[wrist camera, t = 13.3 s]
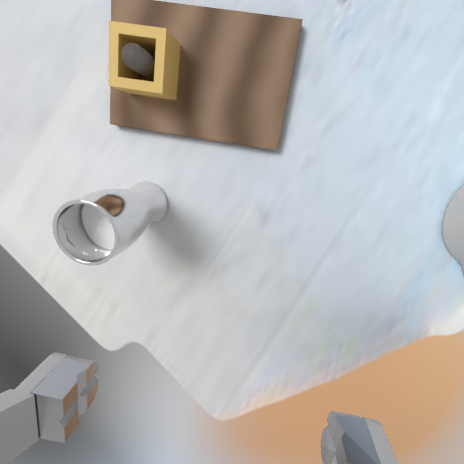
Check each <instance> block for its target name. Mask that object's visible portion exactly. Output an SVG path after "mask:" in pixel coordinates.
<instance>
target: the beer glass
mask: <svg viewBox="0 0 464 464" xmlns="http://www.w3.org/2000/svg"><path fill="white" fill-rule="evenodd" d="M167 207H168V203H167V198H166V195H165V193H164V192H163V191H162V189H161V188H160V187H158V186H157V185H155V184H153V183H150V182H140V183H137V184H135V185H134V186H132V187H131V188H130V189H105V190H100V191H96V192H93V193H90V194H87V195H84V196H82V197H80V198H77V199H75V200H73V201H70V202H67V203H65V204H64V205H62V206H61V207H60V208H59V209H58V211H57V212H56V214H55V216H54V220H53V233H54V237H55V239H56V242H57V244H58V245H59V247H60V248H61V250H62V251H63V252H64V253H65V254H66V255H67V256H68V257H70V258H71V259H73V260H74V261H76V262H78V263H81V264H85V265H99V264H102V263H105V262H106V261H108V260H109V259H111V258H113V257H114V256H116V255H118V254H120V253H121V252H123V251H124V250H126V249H127V248H129V247H130V246H131V245H132V244H134V243H135V242H136V241H137V240H138V239H139V238H140V236H141V235H142V234H143V232H144V231H145V230H146V228H147V227H148V225H149V224H151V223H155V222H157V221H159V220H161V219H162V218H163V217H164V215H165V213H166V211H167Z"/></svg>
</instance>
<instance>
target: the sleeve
mask: <svg viewBox="0 0 464 464" xmlns="http://www.w3.org/2000/svg"><path fill="white" fill-rule="evenodd" d="M128 43H136V44H138V45H140V46H141V47H142V48H144V49H145V50H149V51H155V69H154V82H150V81H144V80H138V73H137V72H136V71H134V70H132V69H130V68H129V67H127V66H126V64H125V63H124V61H123V59H122V50H123V47H124V46H125V45H126V44H128ZM180 47H181V45H180V44H179V43H178V41H177V40H176V39H175V38H174V37H173V36H172V34H171V33H170V32H169V31H168V30H167V29H166V28H160V27H153V26H145V25H138V24H130V23H123V22H115V21H109V86H111V87H114V88H116V89H119V90H122V91H124V92H127V93H130V94H136V95H143V96H149V97H156V98H163V99H169V100H176V98H177V85H178V72H179V60H180Z"/></svg>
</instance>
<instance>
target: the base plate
mask: <svg viewBox="0 0 464 464" xmlns="http://www.w3.org/2000/svg"><path fill="white" fill-rule="evenodd" d="M111 21H115V22H123V23H130V24H138V25H145V26H153V27H160V28H166V29H167V30H168V31H169V32H170V33H171V34H172V36H173V37H174V38H175V39H176V40H177V41H178V43H179V44H180V45H181V47H180V60H179V72H178V85H177V98H176V100H169V99H163V98H156V97H149V96H143V95H136V94H130V93H127V92H124V91H122V90H119V89H116V88H114V87H111V95H110V124H112V125H119V126H125V127H131V128H138V129H144V130H150V131H157V132H163V133H169V134H176V135H182V136H188V137H195V138H201V139H207V140H214V141H220V142H227V143H233V144H239V145H246V146H252V147H258V148H265V149H271V150H278V145H279V139H280V134H281V129H282V124H283V119H284V113H285V108H286V103H287V98H288V93H289V87H290V82H291V77H292V72H293V67H294V61H295V56H296V51H297V46H298V41H299V35H300V30H301V25H302V19H295V18H287V17H279V16H271V15H263V14H256V13H248V12H240V11H232V10H224V9H216V8H209V7H201V6H193V5H185V4H177V3H169V2H162V1H154V0H111ZM122 59H123V61H124V63H125V64H126V66H127V67H129V68H130V69H132V70H134V71H136V72H137V73H138V80H144V81H150V82H154V69H155V51H149V50H145V49H144V48H142V47H141V46H140V45H138V44H136V43H128V44H126V45H125V46H124V47H123V50H122Z"/></svg>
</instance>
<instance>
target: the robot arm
mask: <svg viewBox="0 0 464 464" xmlns="http://www.w3.org/2000/svg"><path fill="white" fill-rule="evenodd" d="M442 232H443V238H444V242H445V245H446V247H447V249H448V250H449V252H450V253H451V254H452V256H453V257H454V258H455V259H456V260H457V261H458V262H459V263H460V264H461V266H462V269H463V273H464V185H463V186H462V187H461V188H460V189H459V190H458V191H457V193H456V194H455V195H454V197H453V198H452V200H451V201H450V203H449V205H448V207H447V209H446V212H445V215H444V219H443V226H442ZM97 371H98V365H97V362H95V361H90V360H86V359H82V358H78V357H74V356H70V355H64V354H60V353H56V352H55V353H53V354H51V355H50V356H48V357H47V358H46V360H44V361H43V363H41V364H40V365H39V366H38V367H37V368H36V369H35V370H34V371H33V372H32V373H31V374H30V375H29V376H28V377H27V378H26V379H25V380H24V381H23V382H22V383H21V384H20V385H19V386H18V387H17V388H16V389H15V390H11V389H9V390H8V391H5V392H3V393H1V394H0V464H6V463H7V462H9V461H10V460H12V459H13V458H14V457H16V456H17V455H18V454H20V453H21V452H23V451H24V450H26V449H27V448H28V447H30V446H31V445H32V444H34V443H35V442H37V441H38V440H39V438H41V439H46V440H51V441H56V442H62V443H66V441H67V440H68V438H69V437H70V435H71V434H72V432H73V431H74V429H75V428H76V426H77V425H78V423H79V415H80V414H82V413H84V412H85V411H87V409H88V408H89V407H90V405H91V404H92V402H93V400H94V397H95V395H96V392H97V387H98V380H97V378H96V377H95V376H94V375H95V373H96V372H97ZM327 420H328V424H329V426H328V427H326V428H325V429H324V430H323V433H322V438H321V454H322V460H323V463H324V464H398V462H397V460H396V458H395V455H394V453H393V451H392V448H391V446H390V443H389V441H388V439H387V436H386V434H385V432H384V430H383V427H382V425H381V423H380V422H379V421H378V420H373V419H368V418H363V417H359V416H354V415H349V414H344V413H339V412H334V411H331V412H330V413H329V416H328V419H327Z"/></svg>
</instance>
